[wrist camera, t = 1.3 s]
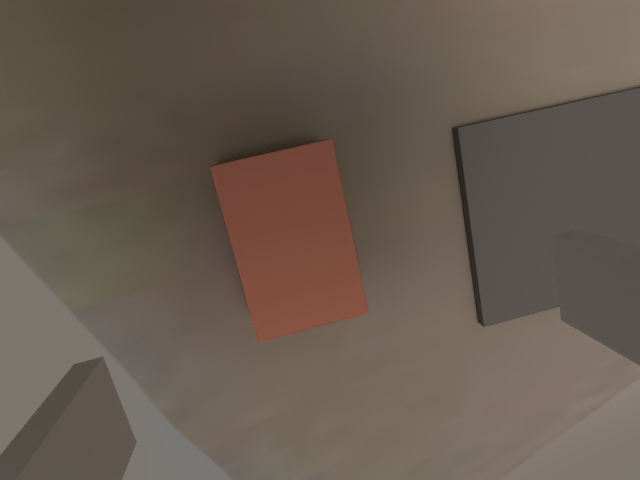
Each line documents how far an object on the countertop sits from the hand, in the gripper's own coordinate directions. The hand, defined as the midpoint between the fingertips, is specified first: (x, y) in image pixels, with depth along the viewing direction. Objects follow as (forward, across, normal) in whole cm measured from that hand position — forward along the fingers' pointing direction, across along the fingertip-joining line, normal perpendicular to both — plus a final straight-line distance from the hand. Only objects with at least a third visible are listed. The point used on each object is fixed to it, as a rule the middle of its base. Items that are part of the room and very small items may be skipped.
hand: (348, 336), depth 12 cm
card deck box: (+17, -1, 0) cm, 17 cm away
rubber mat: (+17, +20, -3) cm, 27 cm away
